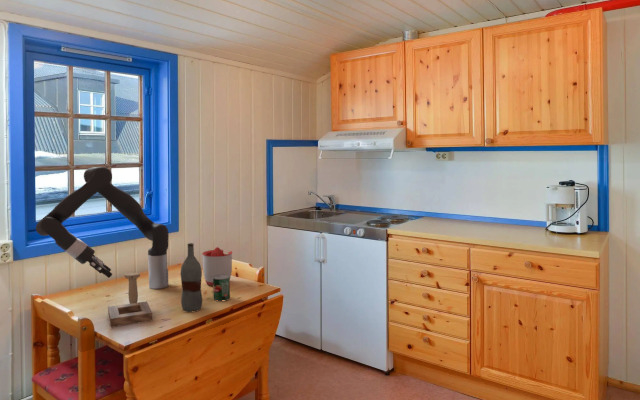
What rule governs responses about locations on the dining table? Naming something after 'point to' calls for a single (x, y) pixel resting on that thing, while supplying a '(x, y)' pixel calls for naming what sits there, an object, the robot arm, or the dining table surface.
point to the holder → (129, 313)
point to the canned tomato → (221, 287)
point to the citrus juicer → (216, 264)
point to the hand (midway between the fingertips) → (110, 273)
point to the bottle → (191, 282)
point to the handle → (132, 286)
